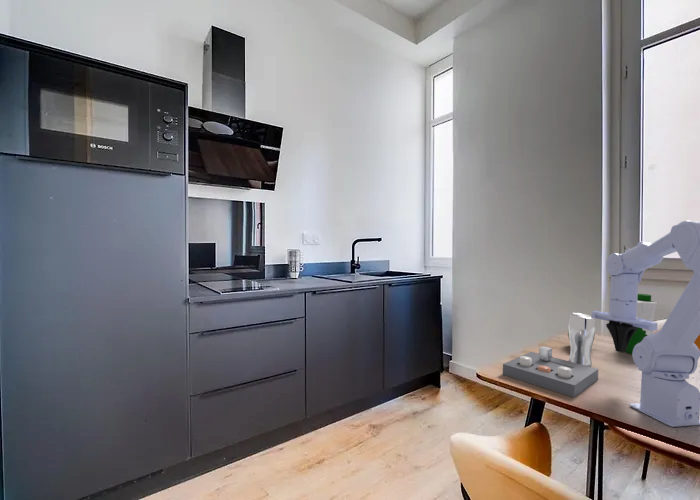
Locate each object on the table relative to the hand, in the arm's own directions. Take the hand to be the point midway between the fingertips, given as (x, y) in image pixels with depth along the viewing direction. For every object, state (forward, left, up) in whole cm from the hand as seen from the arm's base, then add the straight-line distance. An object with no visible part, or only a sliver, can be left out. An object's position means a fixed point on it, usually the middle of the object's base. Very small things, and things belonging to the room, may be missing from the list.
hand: (620, 351), depth 94 cm
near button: (+2, +15, -8) cm, 17 cm away
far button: (+10, +20, -8) cm, 24 cm away
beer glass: (+17, -4, -10) cm, 20 cm away
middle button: (+6, +18, -9) cm, 21 cm away
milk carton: (+25, -33, -10) cm, 42 cm away
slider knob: (+13, +12, -6) cm, 18 cm away
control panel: (+8, +14, -9) cm, 19 cm away
